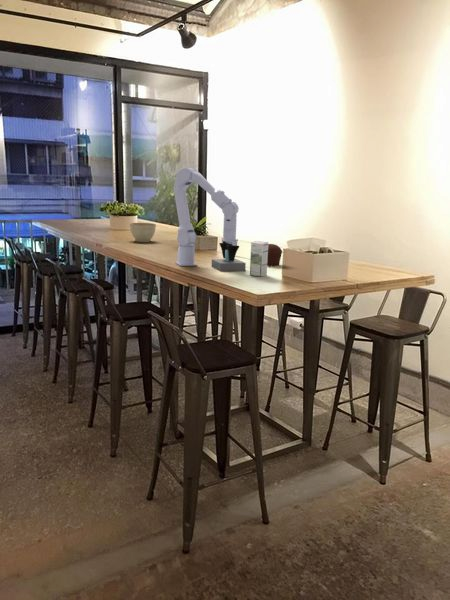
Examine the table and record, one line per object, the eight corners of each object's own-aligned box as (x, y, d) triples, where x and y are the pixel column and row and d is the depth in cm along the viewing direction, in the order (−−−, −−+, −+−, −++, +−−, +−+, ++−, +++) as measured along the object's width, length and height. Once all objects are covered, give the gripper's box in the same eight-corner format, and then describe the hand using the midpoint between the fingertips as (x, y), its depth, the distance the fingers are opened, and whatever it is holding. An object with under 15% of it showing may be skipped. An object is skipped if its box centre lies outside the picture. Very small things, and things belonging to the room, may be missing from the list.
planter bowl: (125, 241, 320) (125, 223, 318) (136, 239, 335) (136, 222, 333) (149, 243, 316) (149, 225, 313) (159, 241, 331) (160, 223, 328)
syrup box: (267, 275, 225) (269, 241, 222) (261, 277, 220) (262, 243, 217) (255, 273, 228) (257, 240, 225) (249, 275, 223) (250, 241, 220)
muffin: (255, 262, 258) (256, 242, 256) (276, 262, 261) (278, 242, 259) (263, 266, 247) (264, 245, 245) (285, 266, 250) (286, 246, 248)
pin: (223, 267, 239) (224, 249, 237) (229, 266, 240) (230, 249, 238) (226, 268, 236) (227, 250, 234) (232, 268, 237) (233, 250, 235)
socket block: (211, 266, 242) (211, 259, 241) (235, 266, 246) (235, 258, 245) (220, 271, 231) (220, 263, 230) (245, 270, 235) (245, 262, 234)
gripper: (244, 231, 229) (242, 261, 232) (232, 228, 242) (231, 257, 245) (229, 231, 226) (227, 262, 230) (217, 227, 240) (216, 257, 243)
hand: (228, 259), depth 237 cm, fingers open, 7 cm apart
